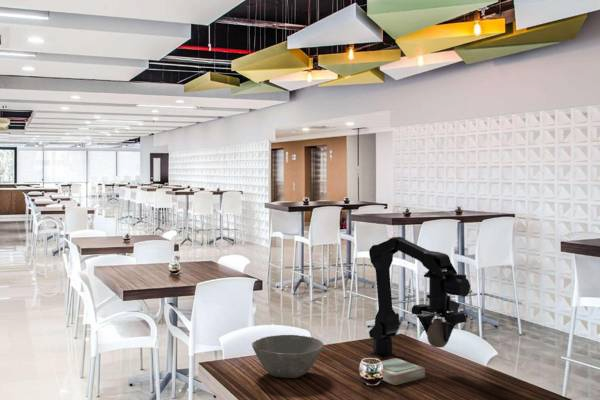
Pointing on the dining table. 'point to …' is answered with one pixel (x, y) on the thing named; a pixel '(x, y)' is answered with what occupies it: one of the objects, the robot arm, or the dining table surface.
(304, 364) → the ceramic bowl
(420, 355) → the dining table surface
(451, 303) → the robot arm
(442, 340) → the vase
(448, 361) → the dining table surface
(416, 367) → the plinth
